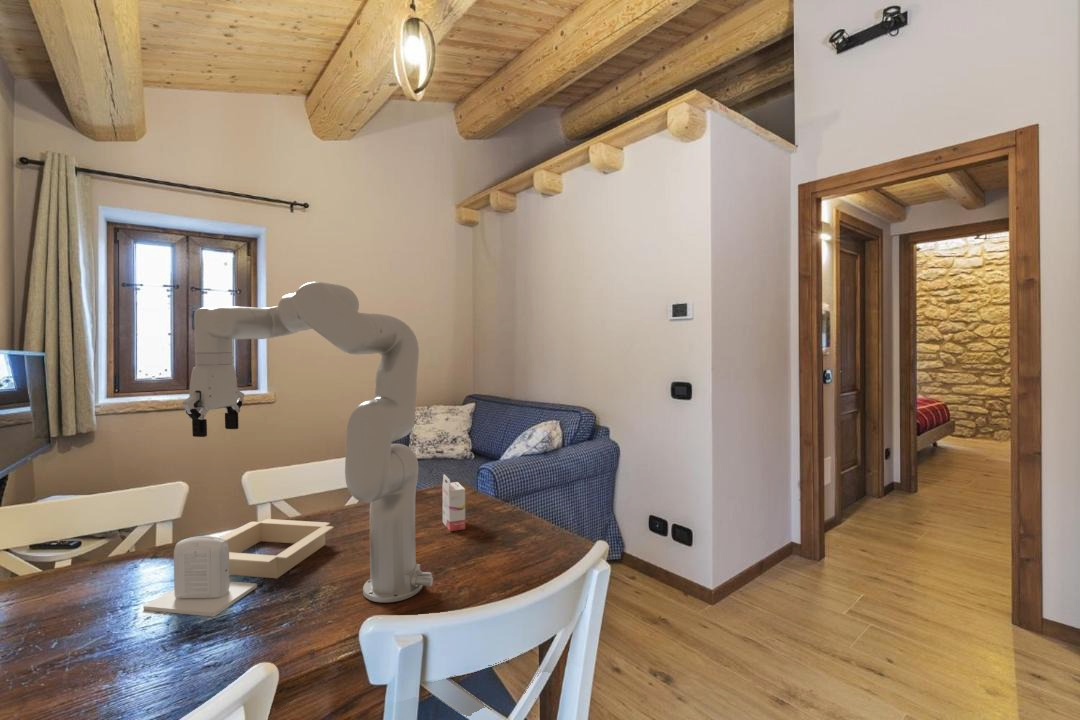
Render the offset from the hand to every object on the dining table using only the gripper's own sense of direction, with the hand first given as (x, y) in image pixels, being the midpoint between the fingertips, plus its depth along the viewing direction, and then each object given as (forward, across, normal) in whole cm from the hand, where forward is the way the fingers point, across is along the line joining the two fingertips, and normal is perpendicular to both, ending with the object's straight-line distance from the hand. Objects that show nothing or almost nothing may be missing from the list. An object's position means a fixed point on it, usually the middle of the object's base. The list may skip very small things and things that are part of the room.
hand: (216, 432), depth 120 cm
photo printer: (+32, +14, +8) cm, 36 cm away
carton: (+32, -6, +8) cm, 34 cm away
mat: (+32, +14, +8) cm, 36 cm away
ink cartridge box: (+32, -34, +47) cm, 67 cm away
